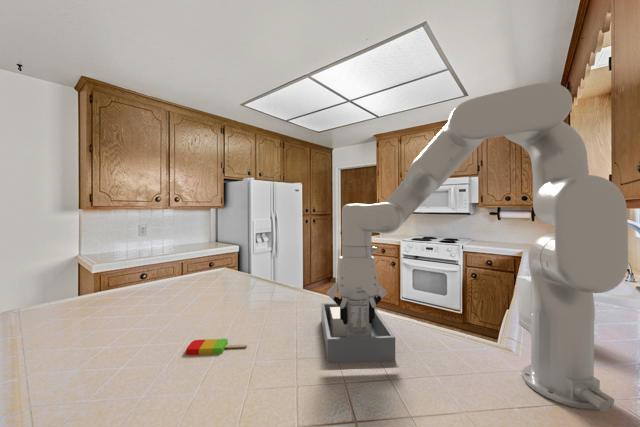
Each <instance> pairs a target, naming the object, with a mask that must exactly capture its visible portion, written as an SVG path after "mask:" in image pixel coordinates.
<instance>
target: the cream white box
mask: <svg viewBox="0 0 640 427" xmlns="http://www.w3.org/2000/svg"><path fill="white" fill-rule="evenodd" d="M330 326H331V331H332V335H333V336H346V324H344V323H343V320H341V319H340V307H330ZM369 335H371V324H370V323H369Z"/></svg>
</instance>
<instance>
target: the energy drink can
mask: <svg viewBox="0 0 640 427" xmlns="http://www.w3.org/2000/svg"><path fill="white" fill-rule="evenodd" d="M361 288H362V287H357V289H356V290H354V291H353V292H352V293H351V294H350V297H349V298H348V299H347V302H346V309H347V324H346V337H369V297H368V294H367V293H366V292H365V291H364V290H362V289H361Z"/></svg>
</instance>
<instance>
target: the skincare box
mask: <svg viewBox="0 0 640 427" xmlns="http://www.w3.org/2000/svg"><path fill="white" fill-rule="evenodd" d="M516 278H517V279H516V280H517V281H516V282H517V308H518V324H519V325H520V326H521V327H523V328H524V329H526V330H527V331H528V332H529V333H531V331H532V285H531V276H530V275H529V276H528V275H518V276H517V277H516Z"/></svg>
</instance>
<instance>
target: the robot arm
mask: <svg viewBox="0 0 640 427" xmlns="http://www.w3.org/2000/svg"><path fill="white" fill-rule="evenodd" d="M572 108H573V97H572V94H571V92H570V90H569V89H568V88H567V87H566V86H563V85H562V84H559V83H555V82H548V81H547V82H537V83H532V84H526V85H523V86H518V87H514V88H512V89H506V90H502V91H497V92H494V93H488V94H485V95H481V96H477V97H474V98H471V99H470V98H469V99H467V100H464V101H462V102H461V103H459V104H458V105H457V106H456V107H455V108H453V110H452V111H451V113H450V115H449V117H448V120H447V123H446V124H445V125H444V126H443V127H442V129H440V131H439V132H437V134H436V135H435V136H434V137H433V139H432V140H431V141H430V142H429V143H428V145H426V147H425V148H424V149H423V150H422V151H421V152H420V153H419V155H418V156H417V157H416V158H415V159H414V160H413V162H412V163H411V164H410V166H409V168H408V170H407V172H406V174H405V176H404V178H403V179H402V181H401V183H400V184H398V186H397V187H396V189H395V190H394V191H393V193H392V194H390V195H389V197H387V199H386V200H385V201H384V202H378V203H372V204H371V203H370V204H367V203H347V204H345V205H343V207H342V209H341V241H342V242H341V244H342V245H341V249H342V250H341V256H339V257H338V261H337V262H338V263H337V268H336V282H335V283H334V284H333V285H332V286H331V287H330V288H329V289H328V291H326V294H327V296H328V297H329V298H330V299H331V300H333V303H336V304H337V305H338V306H340V319H341V320H343V323H344V324H347V309H346V306H345V305H346V302H347V299H348V298H349V297H350V294H351V293H352V292H353V291H354V290H356V289H357V287H362V288H361V289H362V290H364V291H365V292H366V293H367V294H368V297H369V323H370V324H373V319H375V309H376V307H377V305H378V304H379V302H382V301H381V300H382V299H383V298H384V297H386V295H387V294H388V291H387V290H386V289H385V287H383V286H382V285H381V283H379V282H378V272H377V265H376V261H375V260H376V259H375V257H374V256H373V254H374V253H377V252H378V247H375V246H373V245H372V242H373V241H372V238H373V237H372V236H373V235H372V234H373V233H378V234H383V235H384V234H385V235H389V234H392V233H395V232H396V231H398V230H399V229H400V228H401V226H403V224H404V223H405V222H406V221H407V220H408V219H409V218H410V216H412V214H414V212H416V210H417V209H418V208H419V207H420V206H422V204H423V202H425V201H426V200H427V198H428V199H429V197H430V196H431V195H433V194H434V193H435V192H437V190H439V189H440V188H441V187H442V185H444V183H446V181H447V180H448V179H449V178H450V177H451V176H452V175H453V174H454V173H455V171H456V170H457V169H459V167H460V166H461V165H462V164H463V163H464V162H465V161H466V160H467V159H468V158H469V157H470V155H472V153H474V151H475V150H476V149H477V148H478V147H479V146H480V145H481V144H482V142H484V141H485V140H487V139H493V138H500V137H501V138H502V137H505V138H506V139H507V140H509V141H511V142H512V143H514V144H517V145H519V146H521V147H522V148H523V149H524V150H525V151H526V152H527V154H528V155H529V158H530V161H531V162H530V163H531V169H532V170H531V171H532V207H533V208H532V209H533V212H534V214H535V216H536V218H537V219H539V221H541V222H543V223H544V224H546V225H551V226H553V227H554V232H551V233H547V234H544V235H541V236H540V237H538V238H537V239H535V240H534V241H533V243H532V244H531V246H530V248H529V251H528V267H529V273H530V274H529V276H531V285H532V331H531V332H530V333H531V334H530V335H531V346H530V349H531V350H530V351H531V352H530V353H531V354H530V360H531V362H530V363H531V364H530V365H527V366H525V367H523V369H521V370H522V371H521V376H522V379H523V382H525V383H526V385H528V386H529V387H530V388H531V389H532V390H534V391H535V392H537V393H538V394H540V395H542V396H544V397H545V398H548V399H550V400H551V401H554V402H557V403H560V404H562V405H566V406H569V407H573V408H578V409H584V410H599V411H600V412H602V413H606V412H609V411H610V408H611V406H613V404H614V403H615V399H614V398H613V397H612V396H610V395H608V394H607V393H605V392H603V391H602V389H601V386H600V385H601V382H600V379H599V378H597V377H595V376H594V374H595V372H594V371H595V368H594V367H595V316H596V314H595V313H596V312H595V311H596V310H595V309H596V307H595V306H596V305H595V298H594V294H602V293H607V292H609V291H612V290H614V289H615V288H617V287H618V286H619V285H621V283H622V282H623V280H624V279H625V278H626V275H627V272H628V269H629V268H628V266H629V232H628V230H629V228H628V227H629V225H628V207H627V202H626V199H625V197H624V194H623V193H622V191H621V190H620V188H619V187H618V186H617V185H616V184H615V183H613V182H612V181H610V180H609V179H607V178H605V177H602V176H598V175H595V174H594V175H592V174H591V175H590V172H589V162H588V161H589V160H588V152H587V147H586V144H585V142H584V139H583V138H582V137H581V135H580V134H579V133H578V132H577V131H576V129H574V128H573V127H572V126H571V125H570V124H568V123H566V122H565V120H566V118H567V117H568V115H570V112H571V110H572ZM336 292H338V296H340V297H338V296H337V295H336V294H335V293H336Z"/></svg>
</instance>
